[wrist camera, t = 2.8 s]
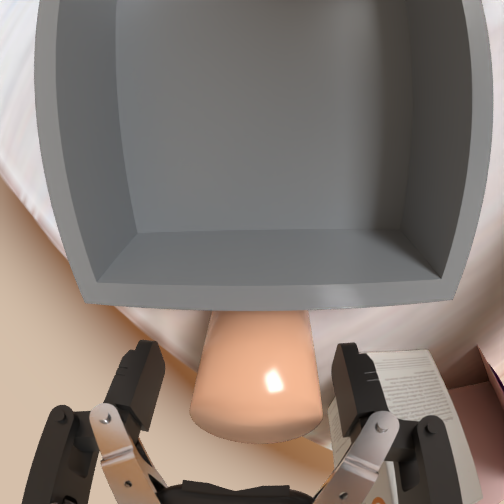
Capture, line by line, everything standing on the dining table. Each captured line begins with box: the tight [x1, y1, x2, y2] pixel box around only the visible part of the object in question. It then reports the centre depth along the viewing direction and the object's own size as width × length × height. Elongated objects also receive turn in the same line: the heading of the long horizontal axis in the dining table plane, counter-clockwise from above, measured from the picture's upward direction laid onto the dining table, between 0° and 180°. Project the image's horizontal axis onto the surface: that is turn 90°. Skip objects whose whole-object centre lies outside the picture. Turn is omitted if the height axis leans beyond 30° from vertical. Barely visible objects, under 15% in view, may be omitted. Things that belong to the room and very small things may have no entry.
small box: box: [327, 349, 483, 504], centre depth 13 cm, size 8×6×13 cm
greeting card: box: [448, 345, 504, 504], centre depth 13 cm, size 11×7×15 cm, turn 47°
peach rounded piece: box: [190, 310, 323, 444], centre depth 12 cm, size 5×5×7 cm
